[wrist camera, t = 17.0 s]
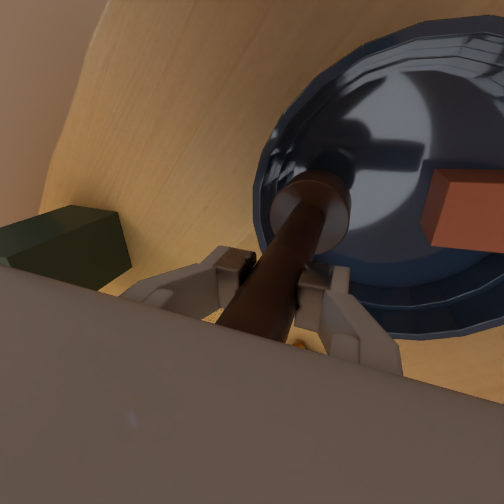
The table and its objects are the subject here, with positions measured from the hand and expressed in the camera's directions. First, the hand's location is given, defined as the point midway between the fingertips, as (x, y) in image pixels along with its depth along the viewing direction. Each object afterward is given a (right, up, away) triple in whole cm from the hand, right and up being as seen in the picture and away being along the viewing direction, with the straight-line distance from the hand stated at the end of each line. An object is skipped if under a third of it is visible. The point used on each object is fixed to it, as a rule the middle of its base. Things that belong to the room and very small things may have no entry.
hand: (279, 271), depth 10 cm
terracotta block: (+13, +4, +8) cm, 16 cm away
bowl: (+10, +5, +10) cm, 15 cm away
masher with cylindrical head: (+3, +4, +7) cm, 9 cm away
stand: (-21, +3, +25) cm, 33 cm away
